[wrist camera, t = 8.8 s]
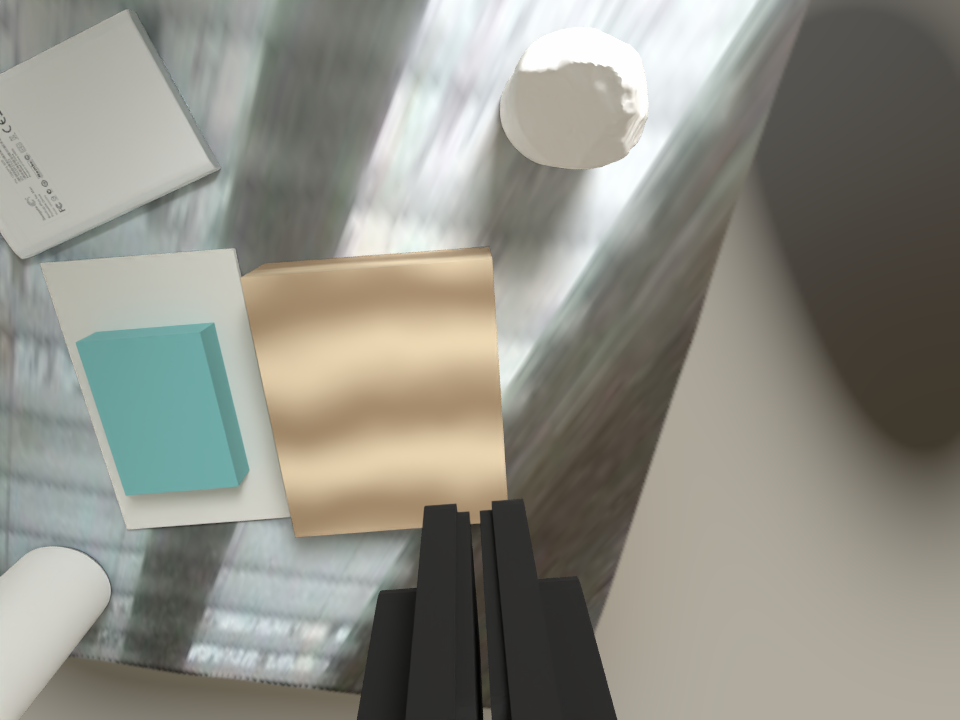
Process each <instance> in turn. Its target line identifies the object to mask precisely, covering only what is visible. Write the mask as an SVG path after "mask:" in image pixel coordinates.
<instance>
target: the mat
mask: <svg viewBox="0 0 960 720" xmlns="http://www.w3.org/2000/svg"><path fill="white" fill-rule="evenodd" d="M40 266H41V269H42V272H43V275H44V278H45V281H46V284H47V287H48V290H49V293H50V296H51V299H52V302H53V305H54V309H55V312H56V315H57V318H58V321H59V324H60V327H61V330H62V333H63V336H64V339H65V342H66V345H67V348H68V351H69V354H70V357H71V360H72V363H73V366H74V369H75V372H76V375H77V379H78V382H79V385H80V388H81V391H82V394H83V397H84V400H85V403H86V406H87V409H88V412H89V415H90V418H91V421H92V424H93V427H94V430H95V433H96V436H97V439H98V442H99V445H100V449H101V452H102V455H103V458H104V461H105V464H106V467H107V470H108V473H109V476H110V479H111V482H112V485H113V488H114V491H115V494H116V497H117V500H118V503H119V506H120V509H121V512H122V515H123V519H124V522H125V525H126V528H127V530H128V529H141V528H154V527H167V526H180V525H193V524H207V523H220V522H233V521H246V520H259V519H272V518H285V517H291V514H290V510H289V505H288V500H287V496H286V491H285V486H284V482H283V477H282V472H281V467H280V463H279V458H278V453H277V449H276V444H275V439H274V435H273V430H272V425H271V421H270V416H269V411H268V406H267V402H266V397H265V392H264V388H263V383H262V378H261V374H260V369H259V364H258V359H257V355H256V350H255V345H254V341H253V336H252V331H251V327H250V322H249V317H248V312H247V308H246V303H245V298H244V294H243V289H242V284H241V280H240V278H241V273H240V268H239V264H238V259H237V254H236V249H235V248H230V249H216V250H203V251H190V252H176V253H163V254H150V255H136V256H123V257H110V258H96V259H83V260H70V261H56V262H43V263H40ZM213 322H214V324H215V328H216V332H217V336H218V340H219V344H220V349H221V353H222V357H223V361H224V365H225V369H226V374H227V378H228V382H229V386H230V390H231V394H232V399H233V403H234V407H235V411H236V415H237V419H238V424H239V428H240V432H241V436H242V440H243V444H244V449H245V453H246V457H247V461H248V465H249V471H248V473H247V475H246V476H245V478H244V479H243V481H242V482H241V484H240V485H239V487H227V488H214V489H202V490H190V491H177V492H165V493H152V494H140V495H128V496H126V495H125V492H124V489H123V486H122V483H121V480H120V477H119V474H118V471H117V468H116V465H115V462H114V459H113V456H112V453H111V450H110V447H109V443H108V440H107V437H106V434H105V431H104V428H103V425H102V422H101V419H100V416H99V413H98V410H97V407H96V404H95V401H94V398H93V395H92V392H91V389H90V386H89V383H88V379H87V376H86V373H85V370H84V367H83V364H82V361H81V358H80V355H79V352H78V349H77V346H76V343H75V342H77V341H79V340H81V339H83V338H85V337H87V336H89V335H91V334H93V333H95V332H101V331H113V330H126V329H138V328H151V327H163V326H176V325H188V324H200V323H213Z"/></svg>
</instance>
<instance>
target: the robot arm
mask: <svg viewBox="0 0 960 720" xmlns="http://www.w3.org/2000/svg"><path fill="white" fill-rule="evenodd" d="M480 527H481V544H482V561H483V578H484V595H485V612H486V629H487V646H488V663H489V680H490V697H491V713H492V720H617V717H616V714H615V710H614V706H613V702H612V699H611V695H610V691H609V688H608V684H607V681H606V676H605V673H604V669H603V666H602V662H601V658H600V654H599V651H598V647H597V643H596V640H595V636H594V632H593V628H592V625H591V621H590V617H589V614H588V610H587V606H586V603H585V599H584V595H583V592H582V588H581V585H580V582H579V579H578V578H577V576H574V577H561V578H547V579H538V578H537V573H536V567H535V561H534V556H533V550H532V545H531V539H530V533H529V528H528V522H527V517H526V511H525V506H524V501H523V499H513V500H499V501H492V510H481V511H480ZM357 720H483V703H482V680H481V658H480V639H479V625H478V613H477V600H476V587H475V575H474V562H473V549H472V536H471V524H470V512H469V511H467V512H457V504H442V505H428V506H425V507H424V513H423V525H422V536H421V548H420V559H419V570H418V582H417V588H410V589H396V590H382V591H380V593H379V595H378V599H377V604H376V610H375V616H374V622H373V628H372V634H371V640H370V645H369V651H368V657H367V663H366V669H365V675H364V681H363V687H362V693H361V699H360V705H359V711H358V716H357Z"/></svg>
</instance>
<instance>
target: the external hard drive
mask: <svg viewBox="0 0 960 720" xmlns="http://www.w3.org/2000/svg"><path fill="white" fill-rule="evenodd" d="M220 169H221V167H220V165H219V164H218V162H217V160H216V158H215V156H214V155H213V153H212V151H211V149H210V147H209V145H208V144H207V142H206V140H205V138H204V136H203V135H202V133H201V131H200V129H199V127H198V125H197V124H196V122H195V120H194V118H193V116H192V115H191V113H190V111H189V109H188V107H187V105H186V104H185V102H184V100H183V98H182V96H181V94H180V93H179V91H178V89H177V87H176V85H175V84H174V82H173V80H172V78H171V76H170V74H169V73H168V71H167V69H166V67H165V65H164V63H163V62H162V60H161V58H160V56H159V54H158V52H157V51H156V49H155V47H154V45H153V43H152V41H151V40H150V38H149V36H148V34H147V32H146V30H145V29H144V27H143V25H142V23H141V21H140V19H139V18H138V16H137V14H136V12H134V11H131V10H129V9H126V10H123V11H121V12H120V13H117V14H115V15H114V16H112V17H110V18H108V19H106V20H104V21H102V22H100V23H98V24H96V25H94V26H92V27H90V28H88V29H87V30H85V31H83V32H81V33H79V34H77V35H75V36H73V37H71V38H69V39H67V40H65V41H63V42H61V43H59V44H57V45H55V46H53V47H51V48H50V49H48V50H46V51H44V52H42V53H40V54H38V55H36V56H34V57H32V58H30V59H28V60H26V61H24V62H22V63H20V64H18V65H16V66H14V67H12V68H10V69H9V70H7V71H5V72H3V73H1V74H0V233H1V234H2V236H3V237H4V239H5V240H6V242H7V243H8V244H9V246H10V247H11V249H12V250H13V251H14V252H15V254H17V255H18V256H19V257H20V258H21V259H25V258H30V257H33V256H35V255H37V254H39V253H42V252H44V251H46V250H48V249H50V248H52V247H55V246H57V245H59V244H61V243H63V242H65V241H68V240H70V239H72V238H74V237H76V236H78V235H80V234H83V233H85V232H87V231H89V230H91V229H93V228H96V227H98V226H100V225H102V224H104V223H106V222H109V221H111V220H113V219H115V218H117V217H119V216H121V215H124V214H126V213H128V212H130V211H132V210H134V209H136V208H138V207H141V206H143V205H145V204H147V203H149V202H151V201H154V200H156V199H158V198H160V197H162V196H164V195H166V194H169V193H171V192H173V191H175V190H177V189H179V188H181V187H183V186H186V185H188V184H190V183H192V182H194V181H196V180H198V179H201V178H203V177H205V176H207V175H209V174H211V173H213V172H215V171H218V170H220Z"/></svg>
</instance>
